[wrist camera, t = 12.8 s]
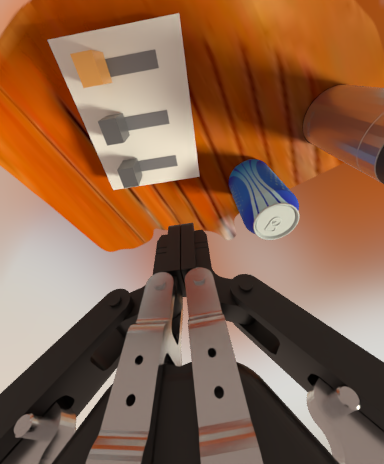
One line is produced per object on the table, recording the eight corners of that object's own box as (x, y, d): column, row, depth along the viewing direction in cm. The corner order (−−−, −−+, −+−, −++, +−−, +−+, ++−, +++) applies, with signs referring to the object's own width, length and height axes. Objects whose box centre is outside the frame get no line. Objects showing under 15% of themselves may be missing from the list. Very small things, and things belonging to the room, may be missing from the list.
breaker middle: (122, 112, 28) (115, 118, 25) (129, 135, 30) (124, 142, 27) (106, 115, 28) (97, 121, 25) (114, 137, 30) (107, 145, 27)
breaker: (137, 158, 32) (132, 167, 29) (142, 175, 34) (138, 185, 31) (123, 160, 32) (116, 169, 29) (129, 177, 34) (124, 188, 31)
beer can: (220, 171, 40) (238, 216, 28) (260, 148, 37) (299, 186, 25) (237, 201, 45) (258, 251, 32) (273, 182, 42) (311, 229, 30)
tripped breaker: (102, 52, 24) (91, 49, 21) (112, 82, 26) (103, 84, 23) (84, 56, 24) (69, 53, 21) (95, 85, 26) (83, 88, 23)
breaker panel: (179, 21, 26) (179, 12, 23) (197, 166, 39) (199, 176, 35) (66, 44, 27) (46, 39, 23) (119, 178, 40) (113, 190, 36)
